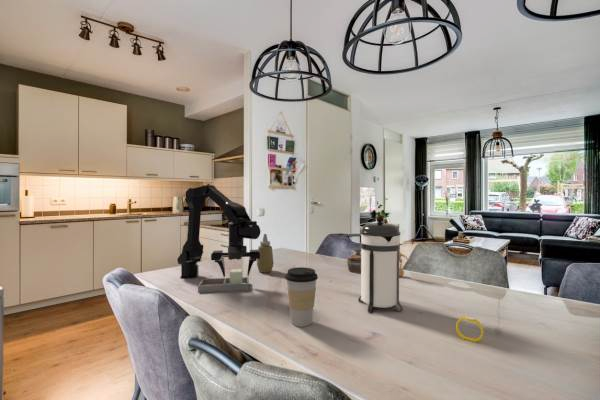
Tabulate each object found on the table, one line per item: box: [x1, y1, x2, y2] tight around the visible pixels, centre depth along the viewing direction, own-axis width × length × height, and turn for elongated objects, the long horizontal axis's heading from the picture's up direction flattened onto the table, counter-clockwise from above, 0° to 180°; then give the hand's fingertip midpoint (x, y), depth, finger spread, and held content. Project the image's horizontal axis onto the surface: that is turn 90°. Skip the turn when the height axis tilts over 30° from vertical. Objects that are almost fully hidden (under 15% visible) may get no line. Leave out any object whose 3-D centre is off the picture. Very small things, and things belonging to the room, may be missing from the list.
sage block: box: [229, 268, 243, 284], centre depth 120 cm, size 4×4×6 cm
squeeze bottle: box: [256, 233, 274, 274], centre depth 144 cm, size 8×8×18 cm
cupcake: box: [346, 249, 361, 274], centre depth 145 cm, size 10×10×10 cm
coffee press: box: [358, 215, 403, 314], centre depth 100 cm, size 17×16×30 cm
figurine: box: [399, 250, 410, 278], centre depth 134 cm, size 8×6×12 cm
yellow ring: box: [455, 314, 484, 343], centre depth 77 cm, size 6×3×6 cm, turn 53°
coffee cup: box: [284, 267, 319, 328], centre depth 87 cm, size 9×9×15 cm
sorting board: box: [197, 276, 250, 294], centre depth 119 cm, size 18×10×2 cm, turn 98°
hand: (236, 276), depth 120 cm, fingers open, 9 cm apart
